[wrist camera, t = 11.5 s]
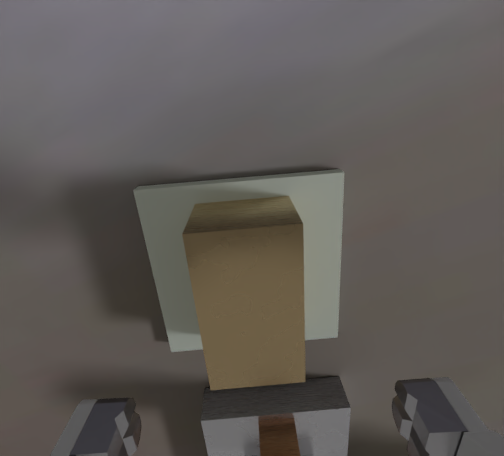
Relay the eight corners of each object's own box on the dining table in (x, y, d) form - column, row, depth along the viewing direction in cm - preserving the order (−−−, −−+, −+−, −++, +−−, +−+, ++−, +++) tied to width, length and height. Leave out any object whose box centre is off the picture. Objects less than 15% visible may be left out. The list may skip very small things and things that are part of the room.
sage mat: (138, 186, 17) (133, 190, 16) (339, 169, 17) (344, 172, 16) (173, 342, 21) (171, 352, 20) (334, 328, 21) (337, 337, 20)
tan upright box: (195, 203, 16) (182, 234, 13) (288, 195, 16) (303, 223, 13) (216, 336, 20) (210, 390, 16) (293, 329, 20) (305, 382, 16)
